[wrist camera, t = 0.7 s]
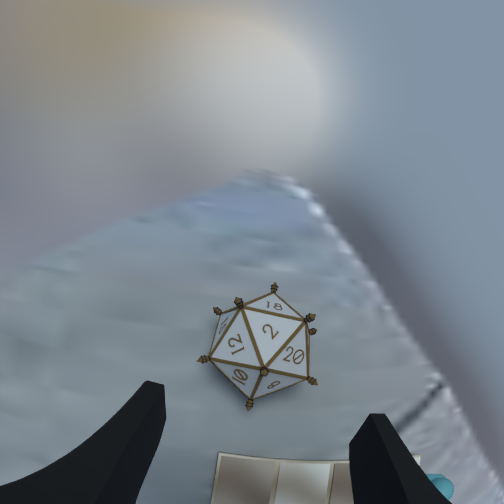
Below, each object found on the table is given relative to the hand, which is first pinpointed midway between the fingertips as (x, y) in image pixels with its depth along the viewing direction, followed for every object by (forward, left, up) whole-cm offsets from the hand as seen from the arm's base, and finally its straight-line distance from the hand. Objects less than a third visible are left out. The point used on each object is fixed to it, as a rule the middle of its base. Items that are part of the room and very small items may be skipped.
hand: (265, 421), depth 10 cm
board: (-5, -8, -15) cm, 18 cm away
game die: (+6, -1, -15) cm, 16 cm away
